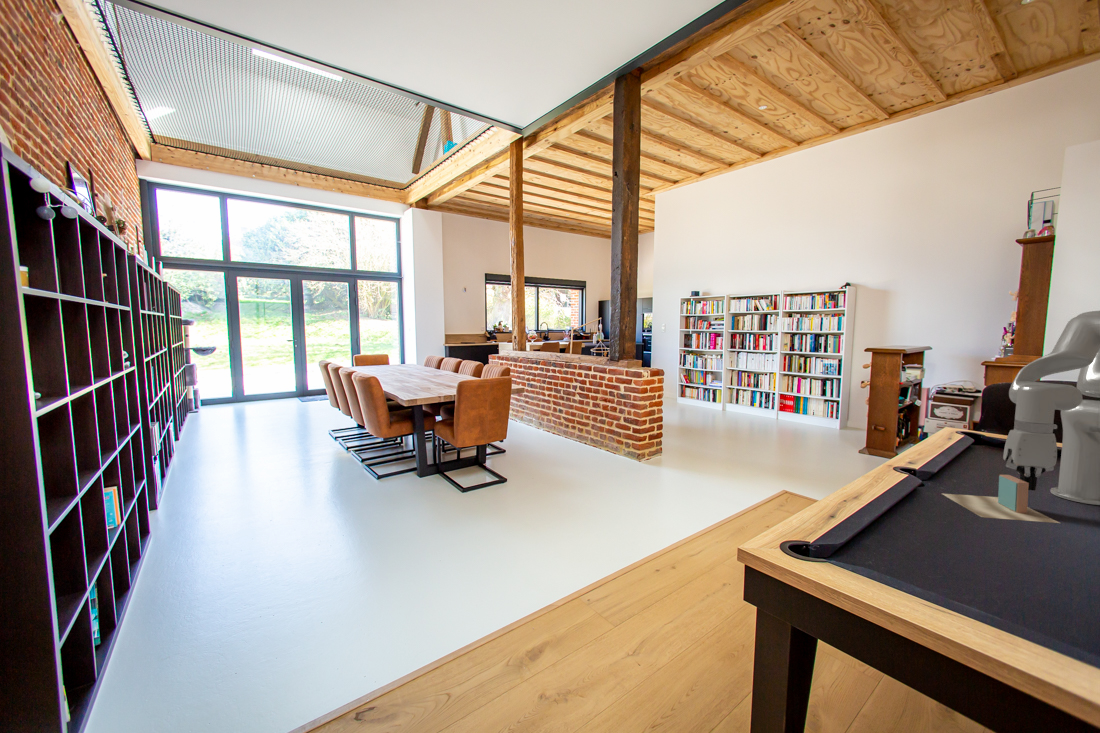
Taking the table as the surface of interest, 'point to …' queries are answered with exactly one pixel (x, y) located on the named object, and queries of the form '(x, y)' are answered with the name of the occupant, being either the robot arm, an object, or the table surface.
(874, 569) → the table surface
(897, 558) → the table surface
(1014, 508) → the tile
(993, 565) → the table surface
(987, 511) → the board
